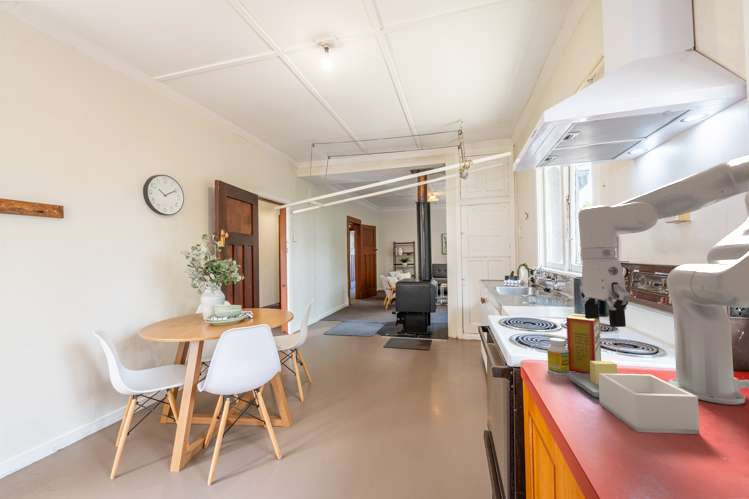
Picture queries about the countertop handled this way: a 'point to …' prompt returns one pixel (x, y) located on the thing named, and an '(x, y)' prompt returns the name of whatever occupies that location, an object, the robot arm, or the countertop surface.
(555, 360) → the supplement bottle
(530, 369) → the countertop surface
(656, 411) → the parts tub
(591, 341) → the baking soda box
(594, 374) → the lid
